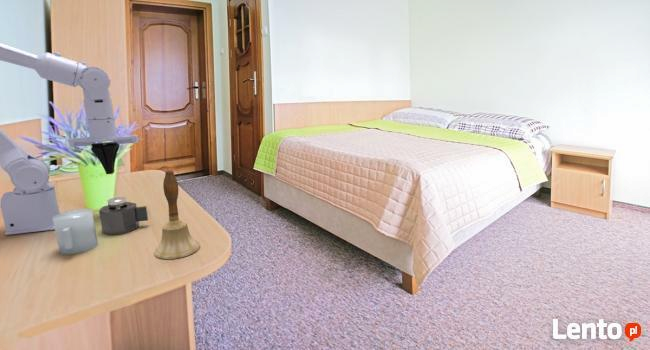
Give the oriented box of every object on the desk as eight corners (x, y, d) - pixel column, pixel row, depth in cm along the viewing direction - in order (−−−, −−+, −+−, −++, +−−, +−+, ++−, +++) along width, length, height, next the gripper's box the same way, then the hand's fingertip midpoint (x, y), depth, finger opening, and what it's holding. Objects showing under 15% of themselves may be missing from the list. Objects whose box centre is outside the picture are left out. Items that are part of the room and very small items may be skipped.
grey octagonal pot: (100, 236, 75) (96, 213, 74) (108, 225, 81) (104, 204, 80) (146, 230, 78) (143, 208, 77) (150, 220, 84) (147, 199, 83)
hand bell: (163, 242, 72) (153, 167, 68) (204, 240, 73) (197, 165, 69) (147, 261, 64) (135, 177, 60) (193, 258, 65) (184, 175, 61)
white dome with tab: (49, 261, 64) (42, 225, 63) (66, 243, 72) (60, 211, 70) (89, 255, 66) (83, 221, 65) (101, 238, 74) (96, 207, 72)
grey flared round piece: (110, 229, 77) (105, 202, 75) (114, 224, 80) (109, 197, 79) (128, 227, 78) (124, 200, 77) (131, 222, 81) (127, 196, 80)
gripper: (59, 121, 78) (70, 179, 82) (130, 118, 83) (139, 174, 86) (70, 119, 85) (81, 173, 88) (136, 116, 89) (144, 168, 93)
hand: (110, 173), depth 88 cm, fingers closed
